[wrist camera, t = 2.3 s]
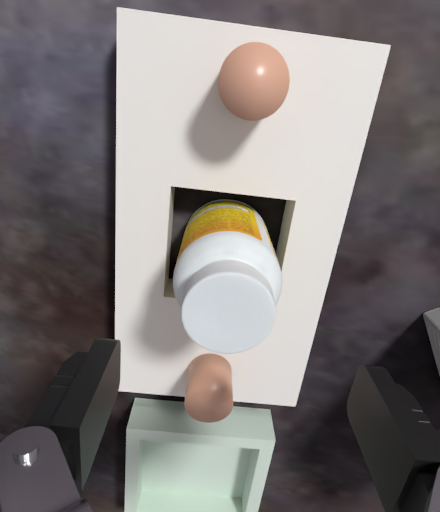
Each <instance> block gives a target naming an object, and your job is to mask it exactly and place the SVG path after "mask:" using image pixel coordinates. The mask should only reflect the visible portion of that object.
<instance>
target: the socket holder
mask: <svg viewBox="0 0 440 512" xmlns="http://www.w3.org/2000/svg"><path fill="white" fill-rule="evenodd" d="M390 47H391V45H385V44H378V43H371V42H364V41H356V40H349V39H342V38H335V37H328V36H321V35H313V34H306V33H299V32H292V31H285V30H278V29H270V28H263V27H256V26H249V25H242V24H235V23H227V22H220V21H213V20H206V19H199V18H191V17H184V16H177V15H170V14H163V13H156V12H148V11H141V10H134V9H127V8H120V7H117V74H116V236H115V339H116V340H120V342H121V364H120V384H119V390H118V391H123V392H135V393H146V394H158V395H169V396H180V397H185V402H184V406H185V410H186V412H187V413H188V414H189V415H190V416H191V417H192V418H194V419H195V420H197V421H200V422H206V423H212V422H217V421H220V420H223V419H224V418H226V417H227V416H228V415H229V414H230V413H231V411H232V409H233V401H238V402H249V403H261V404H272V405H283V406H296V402H297V399H298V395H299V391H300V387H301V384H302V380H303V376H304V372H305V368H306V365H307V361H308V357H309V353H310V350H311V346H312V342H313V338H314V334H315V331H316V327H317V323H318V319H319V315H320V312H321V308H322V304H323V300H324V297H325V293H326V289H327V285H328V281H329V278H330V274H331V270H332V266H333V263H334V259H335V255H336V251H337V247H338V244H339V240H340V236H341V232H342V228H343V225H344V221H345V217H346V213H347V210H348V206H349V202H350V198H351V194H352V191H353V187H354V183H355V179H356V176H357V172H358V168H359V164H360V160H361V157H362V153H363V149H364V145H365V141H366V138H367V134H368V130H369V126H370V123H371V119H372V115H373V111H374V107H375V104H376V100H377V96H378V92H379V89H380V85H381V81H382V77H383V73H384V70H385V66H386V62H387V58H388V54H389V51H390ZM175 187H182V188H191V189H199V190H208V191H217V192H225V193H234V194H242V195H251V196H260V197H268V198H277V199H286V204H285V209H284V214H283V219H282V225H281V230H280V235H279V240H278V245H277V250H276V256H277V259H278V262H279V265H280V269H281V273H282V290H281V294H280V297H279V300H278V302H277V304H276V306H275V307H276V316H275V321H274V325H273V327H272V329H271V331H270V333H269V334H268V335H267V337H266V338H265V339H264V340H263V341H262V342H260V343H259V344H258V345H256V346H255V347H253V348H251V349H248V350H246V351H243V352H240V353H233V354H222V353H216V352H212V351H209V350H206V349H204V348H202V347H201V346H199V345H198V344H196V343H195V342H194V341H193V340H192V339H191V338H190V337H189V336H188V334H187V333H186V331H185V329H184V327H183V324H182V320H181V308H180V306H179V304H178V302H177V300H176V297H175V294H174V289H173V279H169V265H170V250H171V236H172V222H173V208H174V194H175Z"/></svg>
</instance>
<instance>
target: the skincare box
mask: <svg viewBox="0 0 440 512" xmlns="http://www.w3.org/2000/svg"><path fill="white" fill-rule="evenodd" d="M423 317H424V321H425V325H426V328H427V332H428V336H429V340H430V343H431V347H432V350H433V354H434V358H435V362H436V365H437V369H438V372H439V376H440V307H439V308H436V309H434V310H430V311H428V312H425V313H424V314H423Z"/></svg>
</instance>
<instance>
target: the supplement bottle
mask: <svg viewBox="0 0 440 512" xmlns="http://www.w3.org/2000/svg"><path fill="white" fill-rule="evenodd" d="M173 289H174V294H175V297H176V300H177V302H178V304H179V306H180V308H181V320H182V324H183V327H184V329H185V331H186V333H187V334H188V336H189V337H190V338H191V339H192V340H193V341H194V342H195V343H196V344H198V345H199V346H201V347H202V348H204V349H206V350H209V351H212V352H216V353H222V354H233V353H240V352H243V351H246V350H248V349H251V348H253V347H255V346H256V345H258V344H259V343H260V342H262V341H263V340H264V339H265V338H266V337H267V335H268V334H269V333H270V331H271V329H272V327H273V325H274V321H275V316H276V307H275V306H276V304H277V302H278V300H279V297H280V294H281V290H282V273H281V269H280V265H279V262H278V259H277V256H276V254H275V251H274V248H273V245H272V242H271V240H270V237H269V234H268V231H267V228H266V225H265V223H264V221H263V219H262V218H261V216H260V215H259V214H258V213H257V212H256V211H255V210H254V209H253V208H252V207H250V206H249V205H247V204H245V203H243V202H240V201H236V200H230V199H220V200H215V201H211V202H209V203H207V204H205V205H203V206H202V207H200V208H199V209H198V210H197V211H196V212H195V213H194V214H193V215H192V216H191V218H190V219H189V221H188V224H187V226H186V229H185V232H184V236H183V240H182V244H181V247H180V251H179V254H178V258H177V262H176V266H175V269H174V274H173Z"/></svg>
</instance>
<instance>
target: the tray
mask: <svg viewBox="0 0 440 512" xmlns="http://www.w3.org/2000/svg"><path fill="white" fill-rule="evenodd" d="M274 445H275V435H274V429H273V423H272V417H271V411H270V409H260V408H248V407H237V406H233V409H232V411H231V413H230V414H229V415H228V416H227V417H226V418H224V419H223V420H220V421H217V422H212V423H206V422H200V421H197V420H195V419H194V418H192V417H191V416H190V415H189V414H188V413H187V412H186V410H185V406H184V402H179V401H168V400H156V399H144V398H135V400H134V403H133V407H132V410H131V414H130V418H129V421H128V425H127V428H126V467H125V509H124V512H258V509H259V505H260V501H261V497H262V493H263V489H264V485H265V481H266V477H267V473H268V469H269V465H270V461H271V457H272V453H273V449H274Z"/></svg>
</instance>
